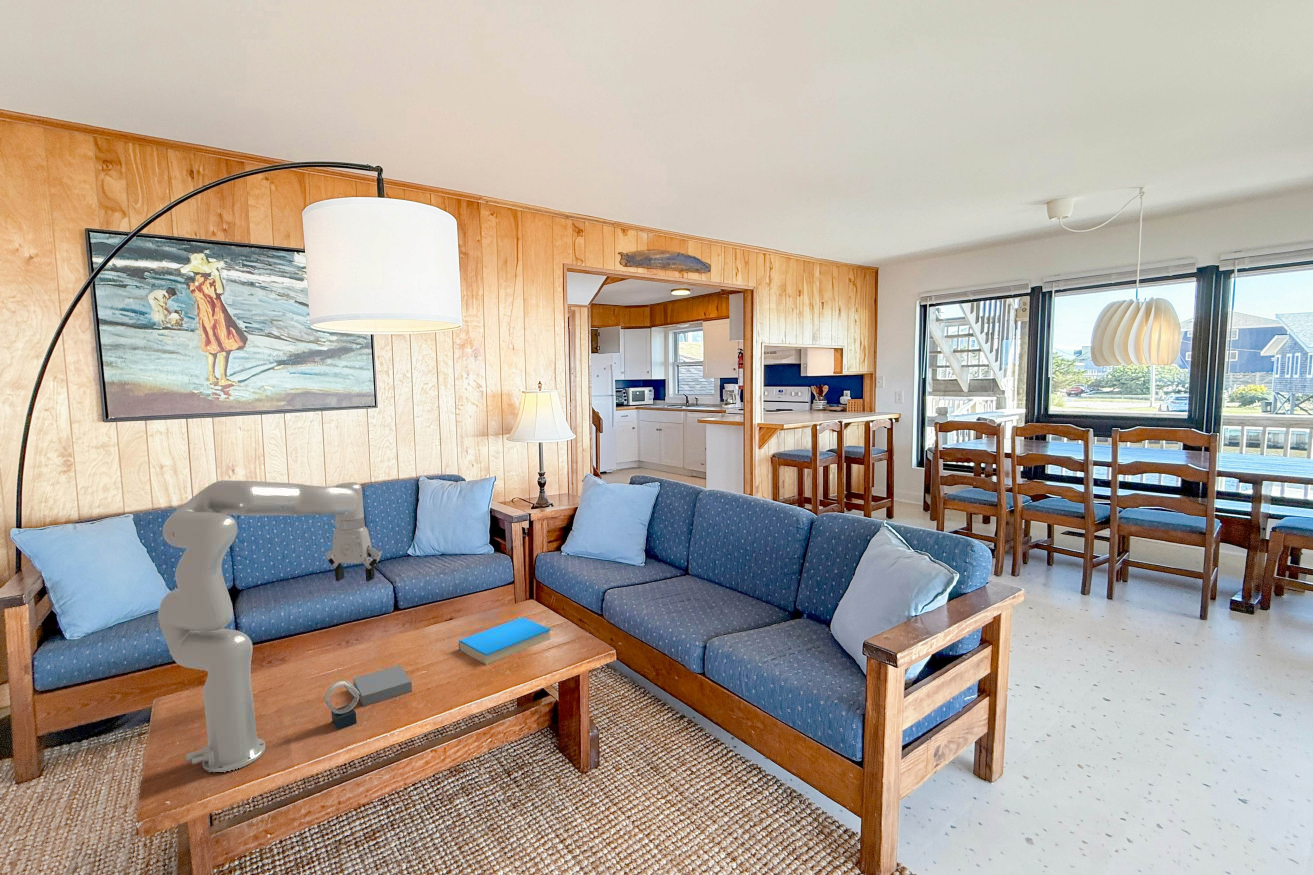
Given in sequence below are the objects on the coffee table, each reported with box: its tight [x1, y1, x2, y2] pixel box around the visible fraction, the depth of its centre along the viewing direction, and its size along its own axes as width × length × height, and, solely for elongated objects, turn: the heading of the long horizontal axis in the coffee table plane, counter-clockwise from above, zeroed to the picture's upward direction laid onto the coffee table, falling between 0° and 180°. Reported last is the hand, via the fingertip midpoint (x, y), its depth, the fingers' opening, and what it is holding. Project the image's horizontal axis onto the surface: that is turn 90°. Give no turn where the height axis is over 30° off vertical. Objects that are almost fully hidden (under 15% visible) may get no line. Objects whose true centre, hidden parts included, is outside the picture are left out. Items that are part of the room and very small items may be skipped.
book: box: [458, 616, 551, 666], centre depth 208 cm, size 17×4×25 cm
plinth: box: [352, 664, 413, 707], centre depth 180 cm, size 13×13×3 cm
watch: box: [324, 680, 360, 731], centre depth 163 cm, size 6×8×11 cm
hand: (355, 579), depth 187 cm, fingers open, 9 cm apart
